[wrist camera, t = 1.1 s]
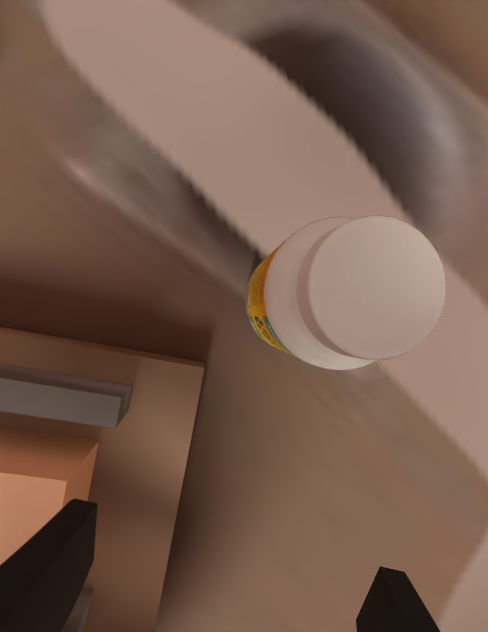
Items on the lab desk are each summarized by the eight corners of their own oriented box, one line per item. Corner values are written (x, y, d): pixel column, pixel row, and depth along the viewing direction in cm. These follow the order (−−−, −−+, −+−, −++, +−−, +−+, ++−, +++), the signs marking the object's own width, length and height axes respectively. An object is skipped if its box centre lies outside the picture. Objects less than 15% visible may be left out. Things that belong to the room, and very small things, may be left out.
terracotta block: (77, 552, 17) (38, 628, 13) (-44, 539, 16) (-124, 614, 12) (98, 440, 17) (67, 481, 13) (-20, 423, 16) (-93, 460, 12)
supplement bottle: (359, 277, 20) (503, 245, 11) (316, 368, 20) (424, 419, 10) (270, 231, 19) (337, 153, 10) (225, 324, 19) (250, 335, 10)
